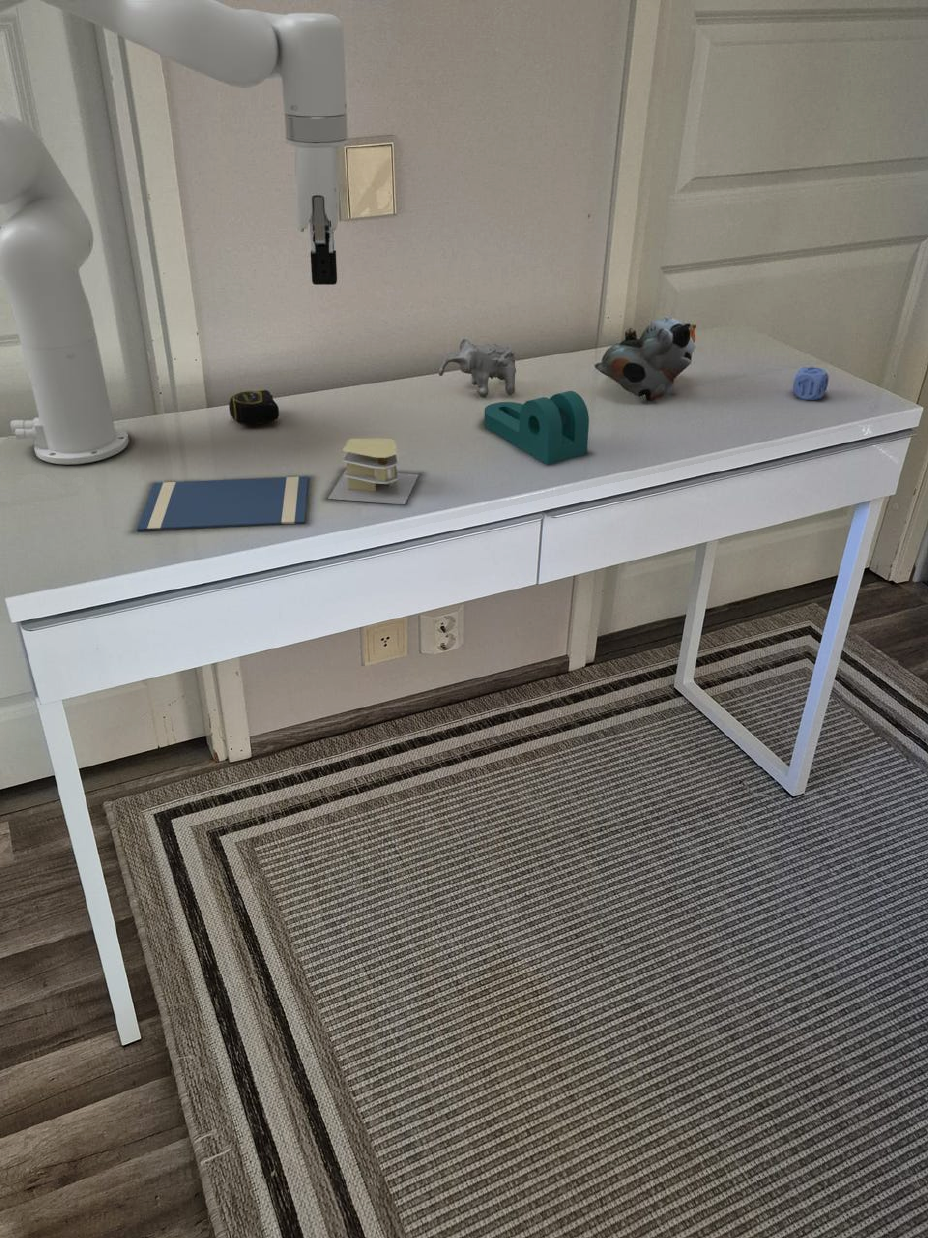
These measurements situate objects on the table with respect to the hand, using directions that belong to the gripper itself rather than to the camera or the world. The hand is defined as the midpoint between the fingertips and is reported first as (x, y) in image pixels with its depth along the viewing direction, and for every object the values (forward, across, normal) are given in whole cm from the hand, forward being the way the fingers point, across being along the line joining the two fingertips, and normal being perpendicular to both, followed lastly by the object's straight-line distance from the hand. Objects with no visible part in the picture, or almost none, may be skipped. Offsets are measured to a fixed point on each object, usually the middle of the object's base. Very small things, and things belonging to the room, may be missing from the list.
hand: (324, 282), depth 135 cm
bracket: (+22, +2, +28) cm, 35 cm away
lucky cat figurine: (+21, -16, +48) cm, 55 cm away
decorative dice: (+20, -11, +74) cm, 77 cm away
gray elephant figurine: (+22, -17, +22) cm, 35 cm away
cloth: (+22, +20, -13) cm, 33 cm away
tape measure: (+22, -8, -11) cm, 26 cm away
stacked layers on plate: (+22, +17, +6) cm, 28 cm away
